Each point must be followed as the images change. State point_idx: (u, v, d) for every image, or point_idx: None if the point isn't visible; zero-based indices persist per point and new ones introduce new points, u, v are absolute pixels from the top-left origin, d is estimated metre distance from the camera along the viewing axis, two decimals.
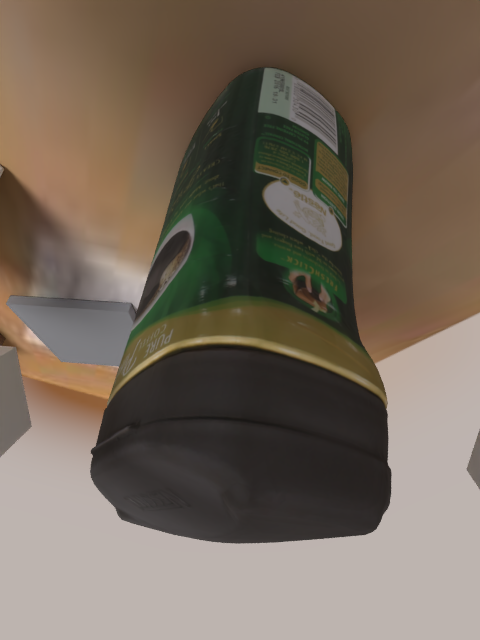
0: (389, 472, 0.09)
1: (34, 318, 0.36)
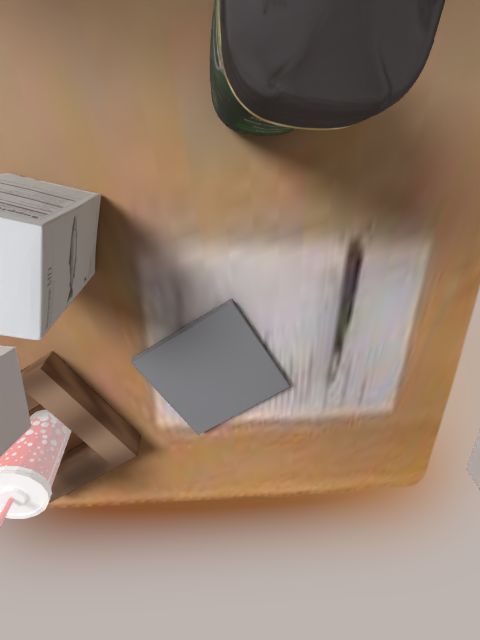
0: None
1: (158, 370, 0.37)
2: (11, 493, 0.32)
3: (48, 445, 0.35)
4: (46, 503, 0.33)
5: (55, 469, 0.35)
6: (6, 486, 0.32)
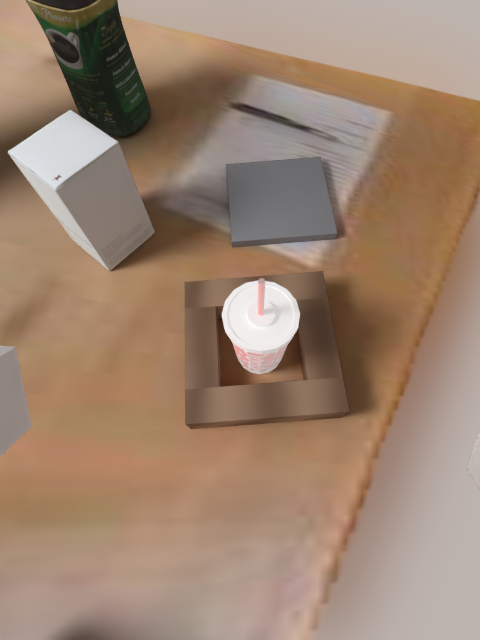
0: None
1: (250, 228, 0.41)
2: (252, 306, 0.28)
3: None
4: (288, 293, 0.29)
5: None
6: (245, 310, 0.28)
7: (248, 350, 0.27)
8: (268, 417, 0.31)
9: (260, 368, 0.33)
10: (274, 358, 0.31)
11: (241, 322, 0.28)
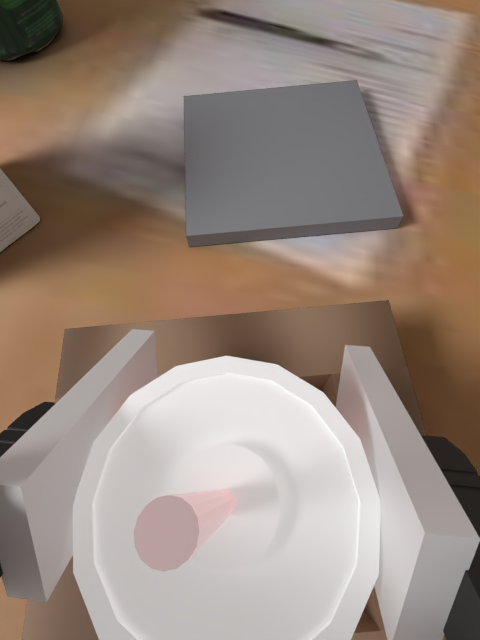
0: None
1: (226, 209, 0.20)
2: (192, 473, 0.07)
3: None
4: (329, 409, 0.08)
5: None
6: (167, 481, 0.07)
7: None
8: None
9: None
10: None
11: None
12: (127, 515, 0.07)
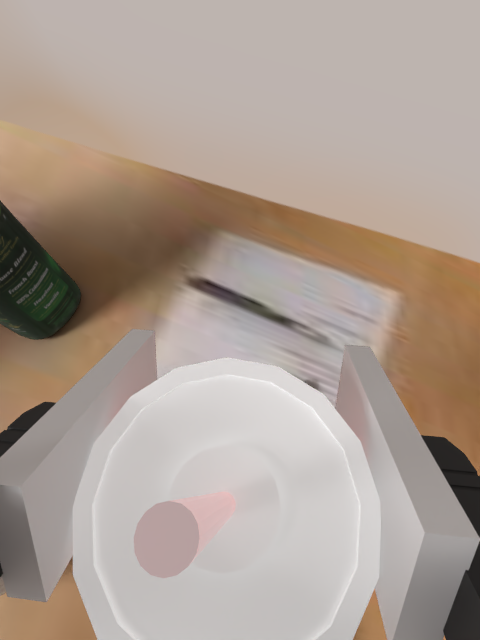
0: None
1: None
2: (192, 475, 0.07)
3: None
4: (330, 411, 0.08)
5: None
6: (166, 483, 0.07)
7: None
8: None
9: None
10: None
11: None
12: (127, 517, 0.07)
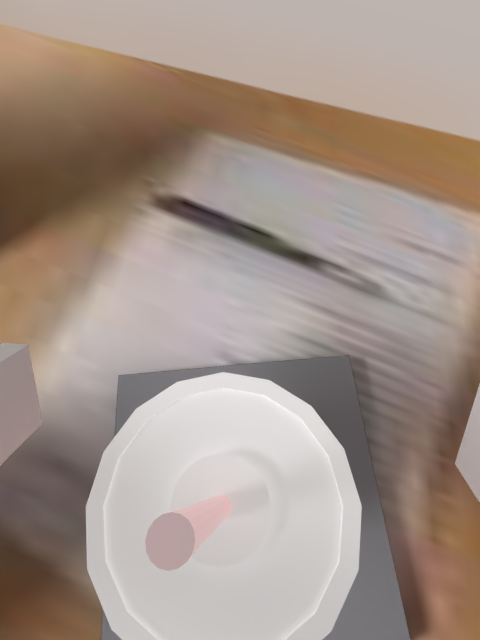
0: None
1: None
2: (192, 479, 0.08)
3: None
4: (316, 421, 0.09)
5: None
6: (169, 487, 0.08)
7: None
8: None
9: None
10: None
11: None
12: (134, 518, 0.08)
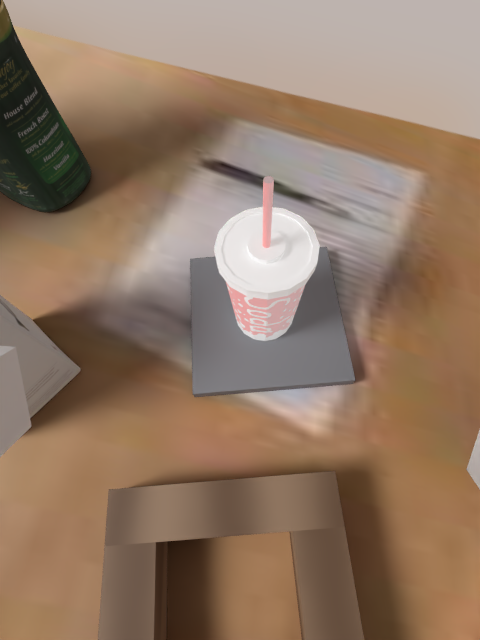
0: None
1: (222, 369, 0.27)
2: (255, 237, 0.21)
3: None
4: (303, 221, 0.21)
5: None
6: (245, 243, 0.21)
7: (250, 294, 0.20)
8: None
9: (266, 330, 0.26)
10: (284, 313, 0.24)
11: (240, 258, 0.21)
12: (232, 252, 0.21)
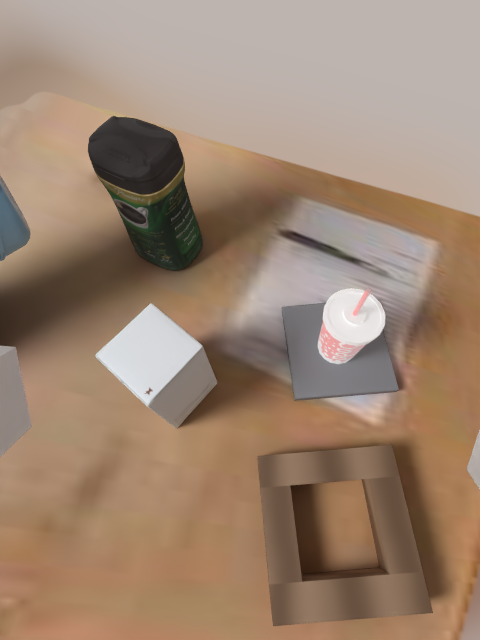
0: None
1: (313, 383, 0.42)
2: (347, 309, 0.36)
3: None
4: (374, 298, 0.37)
5: None
6: (341, 312, 0.36)
7: (347, 342, 0.35)
8: (353, 618, 0.32)
9: (343, 358, 0.41)
10: (358, 350, 0.39)
11: (339, 321, 0.36)
12: (334, 317, 0.36)
